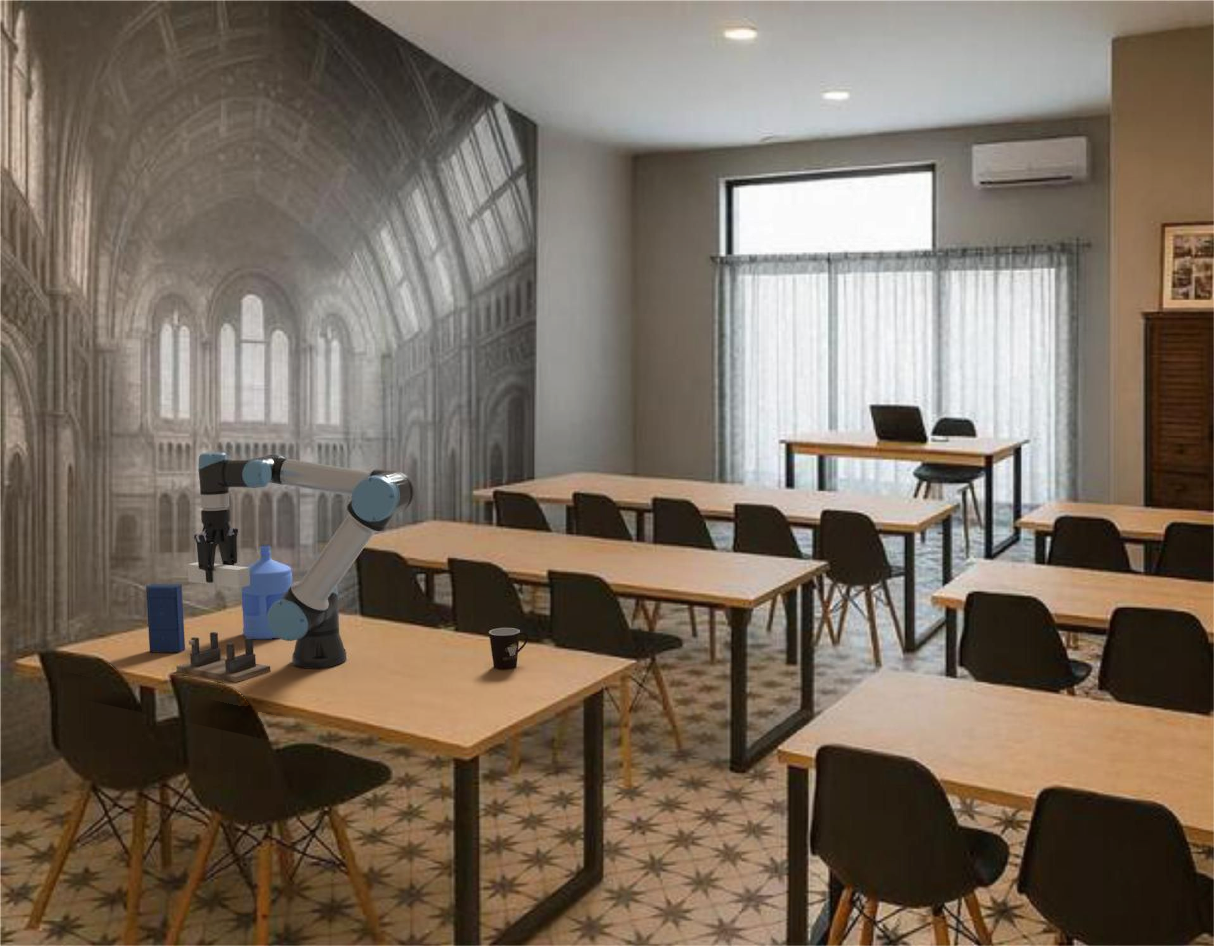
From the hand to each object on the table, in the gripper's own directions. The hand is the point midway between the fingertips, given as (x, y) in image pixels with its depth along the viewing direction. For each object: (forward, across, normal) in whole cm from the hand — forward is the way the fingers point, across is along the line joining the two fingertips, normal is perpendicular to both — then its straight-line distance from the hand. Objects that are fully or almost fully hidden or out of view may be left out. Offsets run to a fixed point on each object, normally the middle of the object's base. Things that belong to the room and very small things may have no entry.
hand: (219, 591), depth 315 cm
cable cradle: (+23, 0, 0) cm, 23 cm away
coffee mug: (+23, -41, +69) cm, 83 cm away
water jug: (+23, -37, -21) cm, 48 cm away
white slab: (-2, 0, 0) cm, 2 cm away
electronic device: (+23, -8, -33) cm, 41 cm away
